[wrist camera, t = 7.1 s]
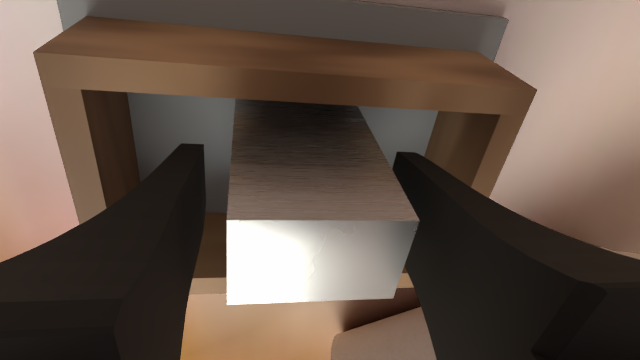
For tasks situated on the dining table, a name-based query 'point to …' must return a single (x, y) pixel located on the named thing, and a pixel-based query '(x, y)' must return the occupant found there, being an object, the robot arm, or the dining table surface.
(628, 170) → the dining table surface
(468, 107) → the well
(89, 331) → the robot arm
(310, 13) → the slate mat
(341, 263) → the brushed aluminum block
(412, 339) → the coffee cup
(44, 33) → the dining table surface
